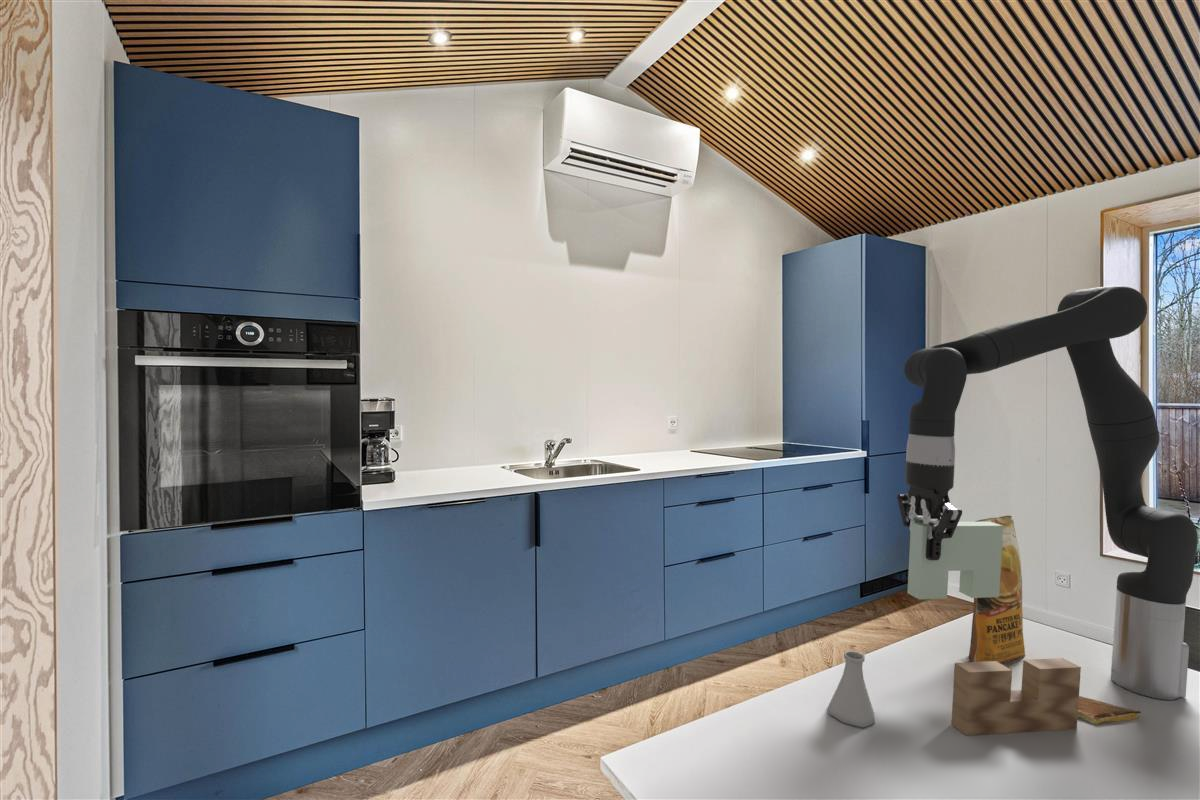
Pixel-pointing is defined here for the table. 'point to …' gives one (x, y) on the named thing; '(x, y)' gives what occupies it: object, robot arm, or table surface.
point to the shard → (1103, 711)
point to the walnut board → (1015, 697)
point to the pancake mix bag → (1000, 607)
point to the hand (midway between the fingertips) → (925, 556)
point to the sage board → (957, 561)
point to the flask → (852, 694)
